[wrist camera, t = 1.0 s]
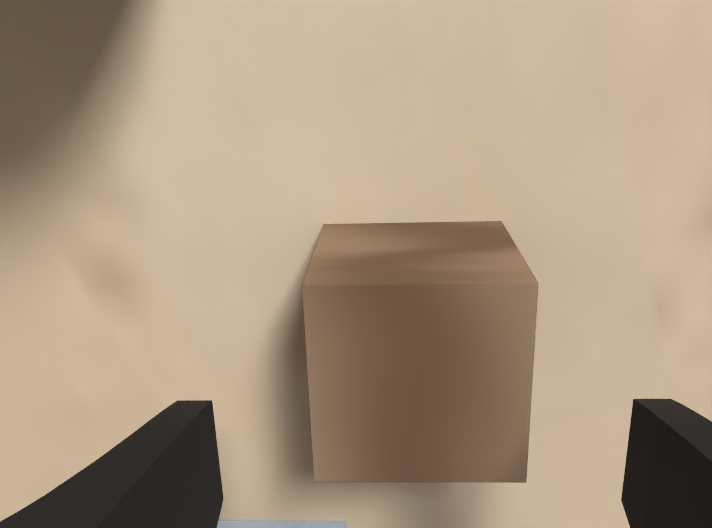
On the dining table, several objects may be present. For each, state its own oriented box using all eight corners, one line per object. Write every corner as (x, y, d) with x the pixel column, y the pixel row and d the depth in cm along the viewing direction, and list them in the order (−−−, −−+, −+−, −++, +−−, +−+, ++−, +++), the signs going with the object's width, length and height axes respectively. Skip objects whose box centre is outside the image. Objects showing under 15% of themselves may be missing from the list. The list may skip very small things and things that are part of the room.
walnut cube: (500, 220, 17) (538, 283, 13) (494, 378, 18) (526, 482, 14) (323, 223, 17) (302, 285, 13) (331, 379, 19) (314, 481, 14)
